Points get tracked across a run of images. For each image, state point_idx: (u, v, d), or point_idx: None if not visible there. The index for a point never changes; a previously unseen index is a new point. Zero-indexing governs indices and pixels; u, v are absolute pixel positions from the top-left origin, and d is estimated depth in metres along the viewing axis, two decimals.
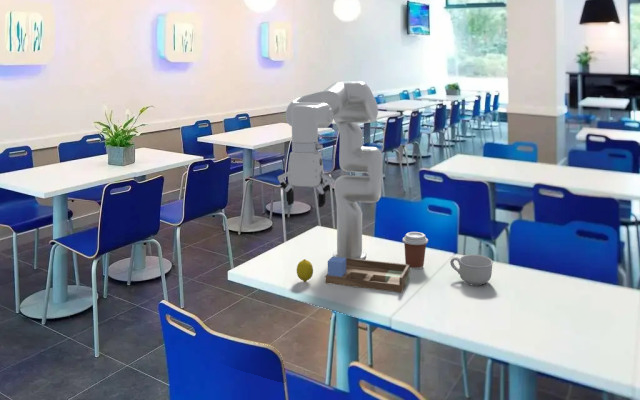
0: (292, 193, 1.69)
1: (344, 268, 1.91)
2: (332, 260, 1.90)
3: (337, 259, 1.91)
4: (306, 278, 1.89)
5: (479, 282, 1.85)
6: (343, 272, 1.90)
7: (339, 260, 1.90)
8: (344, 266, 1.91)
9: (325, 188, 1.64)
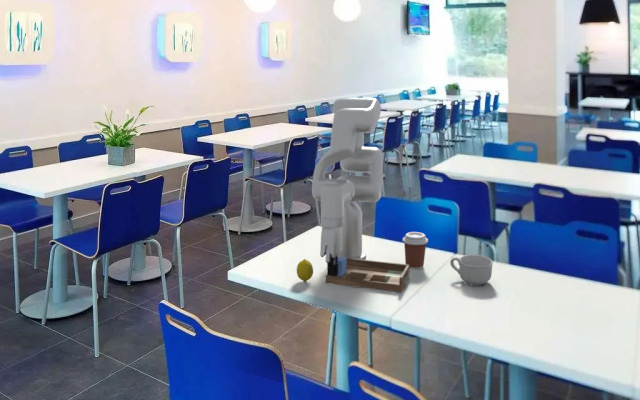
0: None
1: (344, 267, 1.91)
2: None
3: (338, 258, 1.91)
4: (306, 278, 1.89)
5: (479, 282, 1.85)
6: (343, 271, 1.90)
7: (339, 259, 1.90)
8: (344, 265, 1.91)
9: None
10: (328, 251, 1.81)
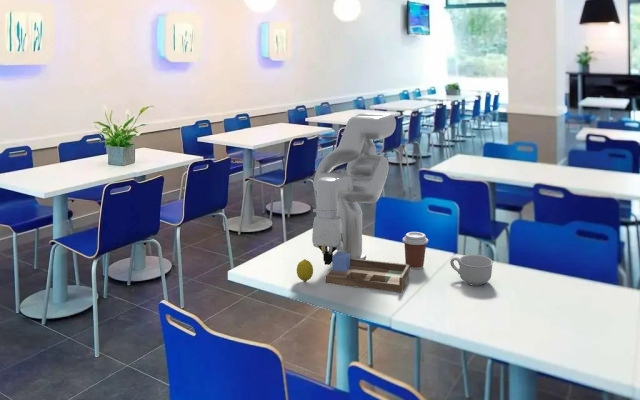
0: None
1: (348, 263, 1.96)
2: (336, 255, 1.94)
3: (341, 254, 1.96)
4: (306, 278, 1.89)
5: (479, 282, 1.85)
6: (347, 267, 1.95)
7: (343, 255, 1.94)
8: (348, 261, 1.96)
9: None
10: None
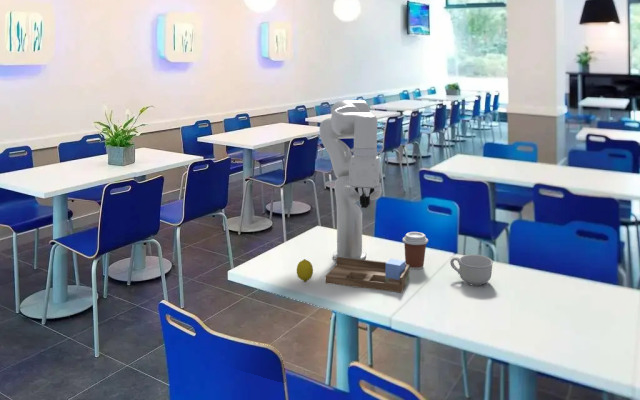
0: None
1: (402, 271, 1.88)
2: (390, 262, 1.87)
3: (396, 261, 1.88)
4: (306, 278, 1.89)
5: (479, 282, 1.85)
6: None
7: (397, 263, 1.87)
8: (402, 269, 1.87)
9: None
10: (378, 179, 1.86)
